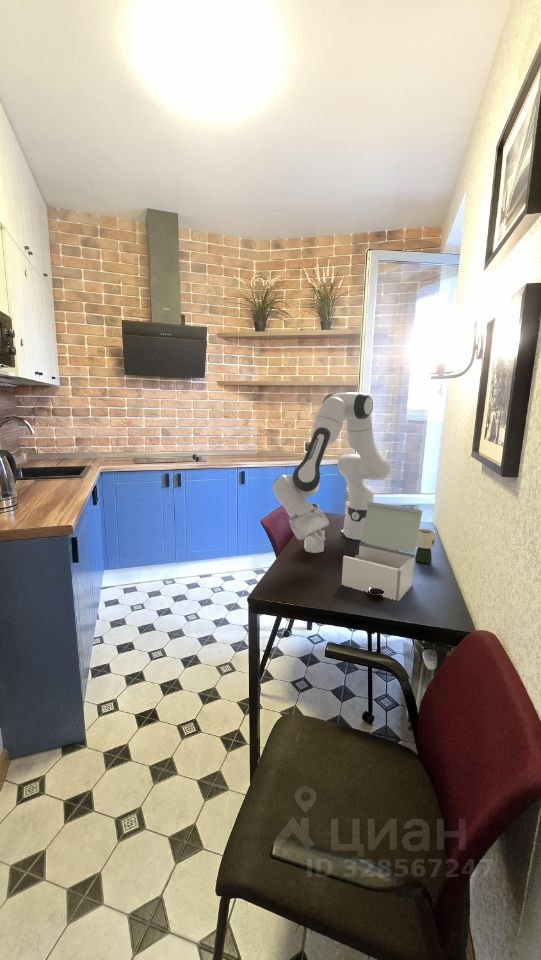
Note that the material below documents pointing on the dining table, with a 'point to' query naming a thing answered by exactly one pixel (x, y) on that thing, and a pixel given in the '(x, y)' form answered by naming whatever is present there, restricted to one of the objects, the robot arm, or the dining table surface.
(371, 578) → the channel
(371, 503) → the cover
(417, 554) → the character mug
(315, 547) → the jar
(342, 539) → the dining table surface
